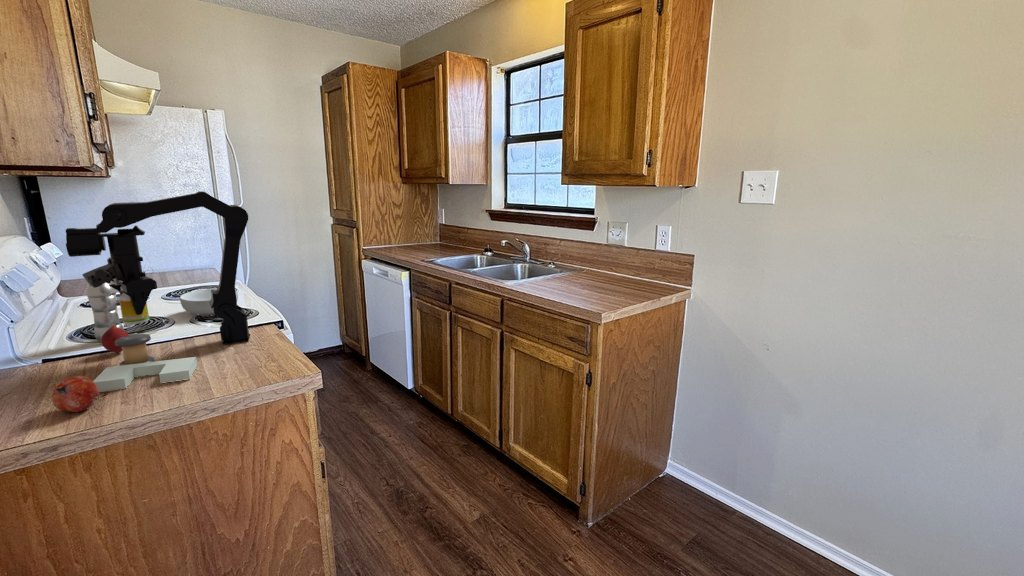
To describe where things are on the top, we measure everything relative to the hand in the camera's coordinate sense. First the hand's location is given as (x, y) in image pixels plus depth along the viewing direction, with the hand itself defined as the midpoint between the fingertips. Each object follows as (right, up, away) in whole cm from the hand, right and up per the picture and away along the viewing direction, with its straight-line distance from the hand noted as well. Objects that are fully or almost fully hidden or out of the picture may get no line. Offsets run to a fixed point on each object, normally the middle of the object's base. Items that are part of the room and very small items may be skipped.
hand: (135, 312), depth 121 cm
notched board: (+12, -15, -10) cm, 22 cm away
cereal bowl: (-6, -3, +40) cm, 41 cm away
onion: (-8, -11, +4) cm, 15 cm away
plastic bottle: (-18, -9, +13) cm, 24 cm away
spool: (+3, -13, -3) cm, 14 cm away
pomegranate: (+8, -19, -24) cm, 32 cm away
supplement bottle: (0, -3, +1) cm, 3 cm away
